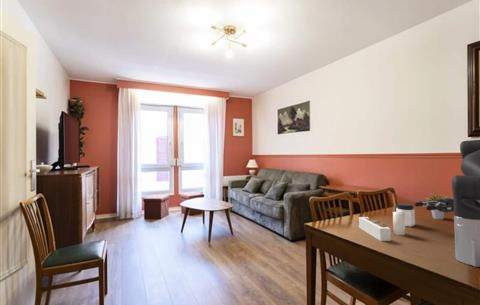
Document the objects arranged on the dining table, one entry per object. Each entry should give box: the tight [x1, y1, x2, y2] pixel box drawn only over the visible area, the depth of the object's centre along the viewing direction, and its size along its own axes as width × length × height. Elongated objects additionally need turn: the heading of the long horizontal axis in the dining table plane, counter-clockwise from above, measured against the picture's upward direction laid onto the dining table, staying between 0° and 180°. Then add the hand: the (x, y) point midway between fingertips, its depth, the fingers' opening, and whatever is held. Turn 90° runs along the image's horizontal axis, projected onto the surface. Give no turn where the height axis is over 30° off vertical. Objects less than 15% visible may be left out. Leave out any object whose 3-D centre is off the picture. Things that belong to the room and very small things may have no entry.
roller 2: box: [376, 223, 387, 227], centre depth 138 cm, size 3×7×3 cm
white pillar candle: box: [392, 211, 406, 236], centre depth 128 cm, size 5×5×11 cm
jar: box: [395, 202, 416, 228], centre depth 144 cm, size 9×8×12 cm
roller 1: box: [370, 220, 381, 224], centre depth 144 cm, size 3×7×3 cm
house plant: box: [425, 192, 451, 220], centre depth 155 cm, size 14×14×16 cm
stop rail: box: [358, 216, 392, 242], centre depth 129 cm, size 22×5×6 cm, turn 179°
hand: (420, 206), depth 128 cm, fingers open, 8 cm apart
